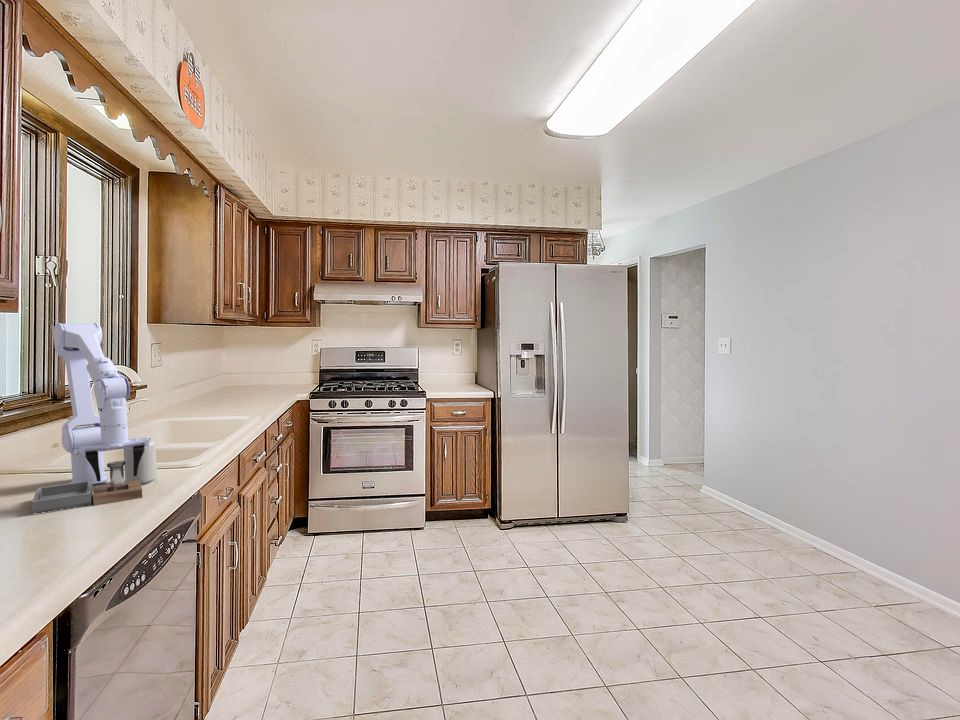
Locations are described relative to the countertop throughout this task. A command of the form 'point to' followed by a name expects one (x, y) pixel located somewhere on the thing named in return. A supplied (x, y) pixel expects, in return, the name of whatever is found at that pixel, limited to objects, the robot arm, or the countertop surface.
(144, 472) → the can
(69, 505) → the tray
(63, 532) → the countertop surface
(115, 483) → the pin
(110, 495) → the hitch block
